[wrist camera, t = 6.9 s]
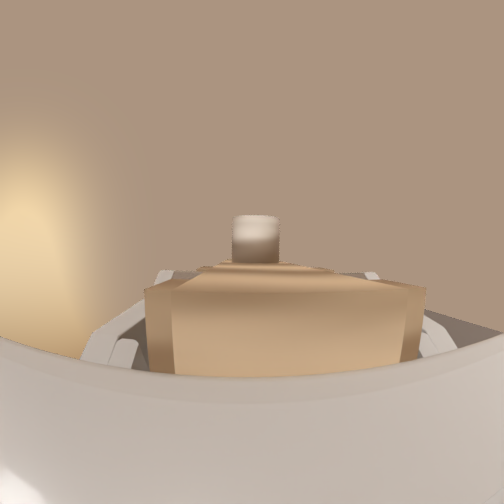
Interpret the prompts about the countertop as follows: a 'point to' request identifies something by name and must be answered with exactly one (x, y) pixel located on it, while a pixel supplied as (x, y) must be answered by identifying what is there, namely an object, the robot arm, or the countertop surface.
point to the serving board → (277, 315)
